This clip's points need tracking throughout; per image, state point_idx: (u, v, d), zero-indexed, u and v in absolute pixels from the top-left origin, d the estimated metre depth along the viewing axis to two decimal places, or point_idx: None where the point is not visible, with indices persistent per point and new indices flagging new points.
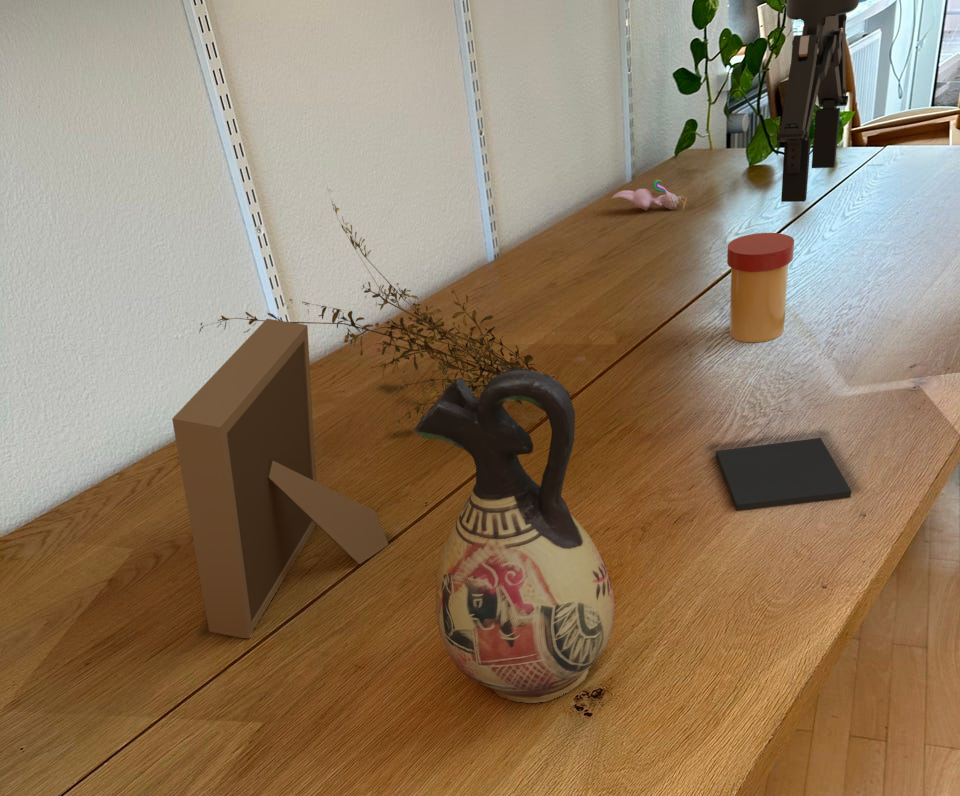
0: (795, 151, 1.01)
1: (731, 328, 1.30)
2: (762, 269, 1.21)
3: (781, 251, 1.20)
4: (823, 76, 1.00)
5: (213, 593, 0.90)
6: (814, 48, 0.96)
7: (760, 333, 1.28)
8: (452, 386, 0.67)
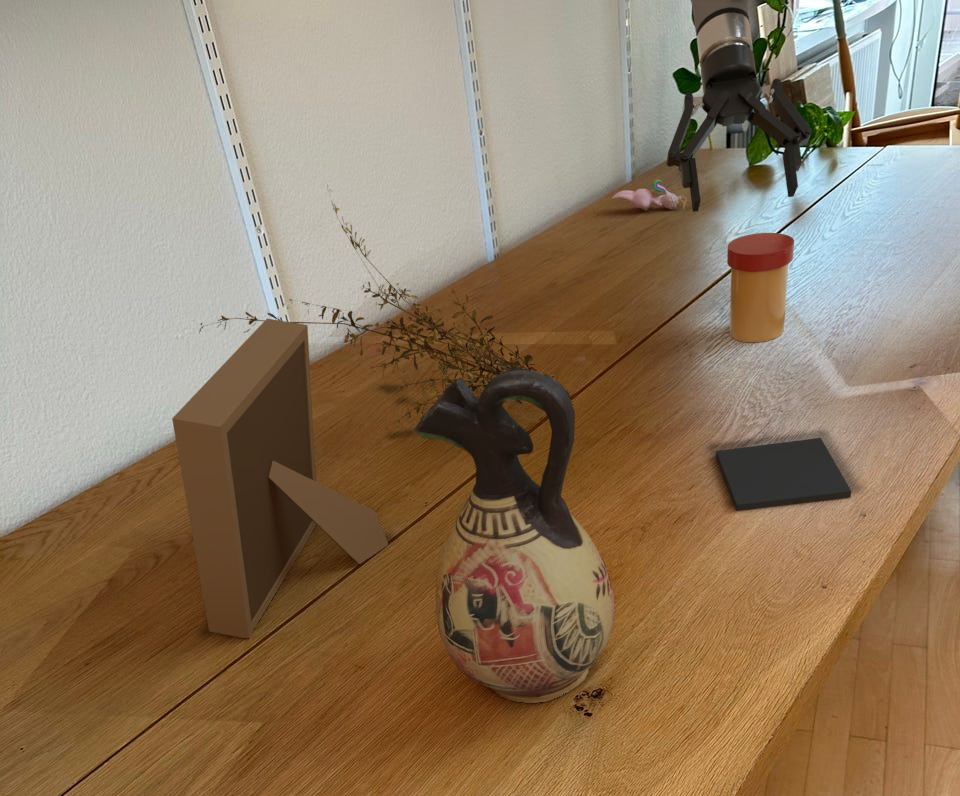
0: None
1: (731, 328, 1.30)
2: (762, 269, 1.21)
3: (781, 251, 1.20)
4: (711, 117, 1.29)
5: (213, 593, 0.90)
6: (684, 101, 1.30)
7: (760, 333, 1.28)
8: (452, 386, 0.67)
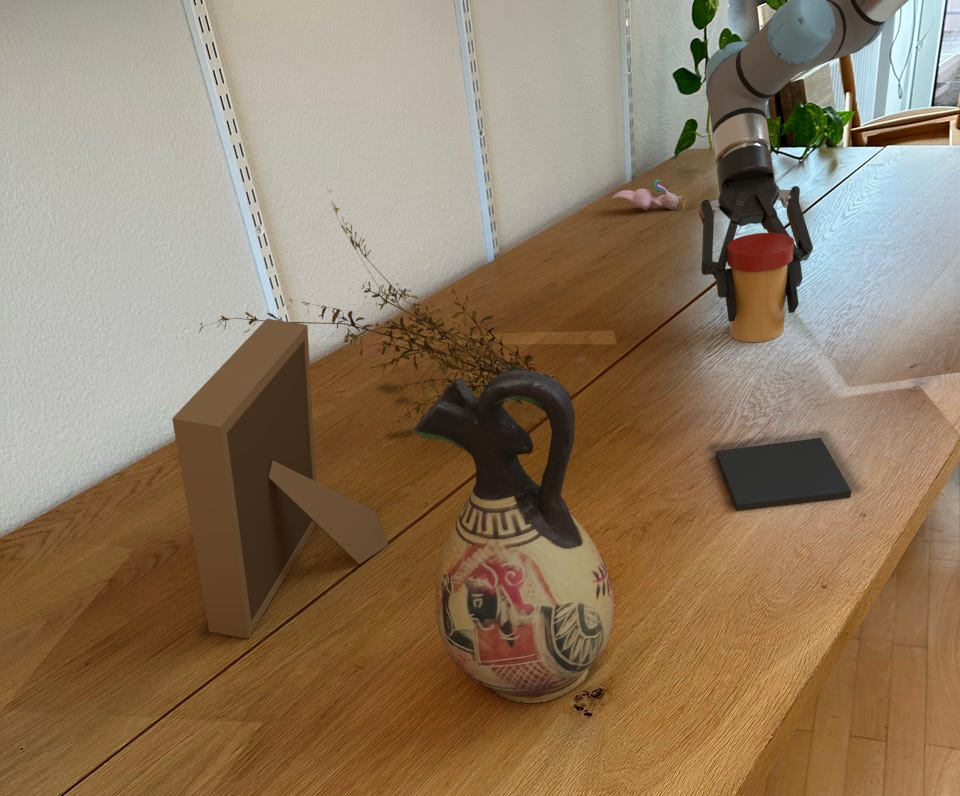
0: (717, 279, 1.27)
1: (731, 328, 1.30)
2: (762, 269, 1.21)
3: (781, 251, 1.20)
4: (735, 221, 1.26)
5: (213, 593, 0.90)
6: (703, 209, 1.27)
7: (760, 333, 1.28)
8: (452, 386, 0.67)
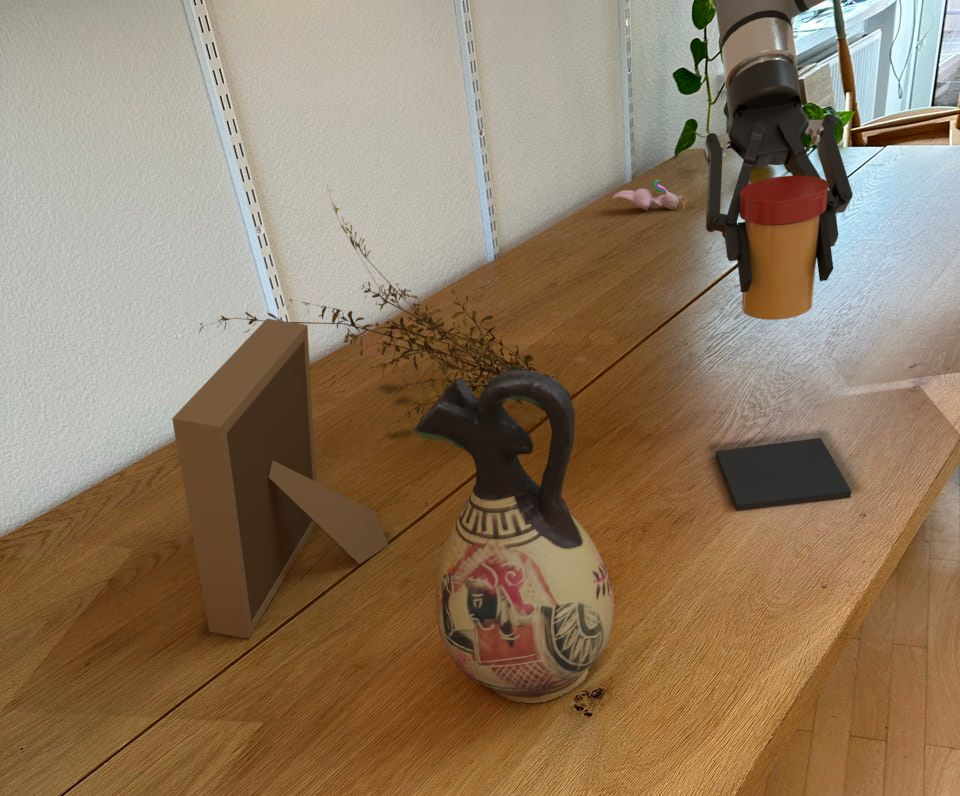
0: (726, 237, 0.97)
1: (744, 301, 1.01)
2: (786, 221, 0.92)
3: (812, 197, 0.91)
4: (751, 161, 0.96)
5: (213, 593, 0.90)
6: (708, 146, 0.97)
7: (782, 307, 0.98)
8: (452, 386, 0.67)
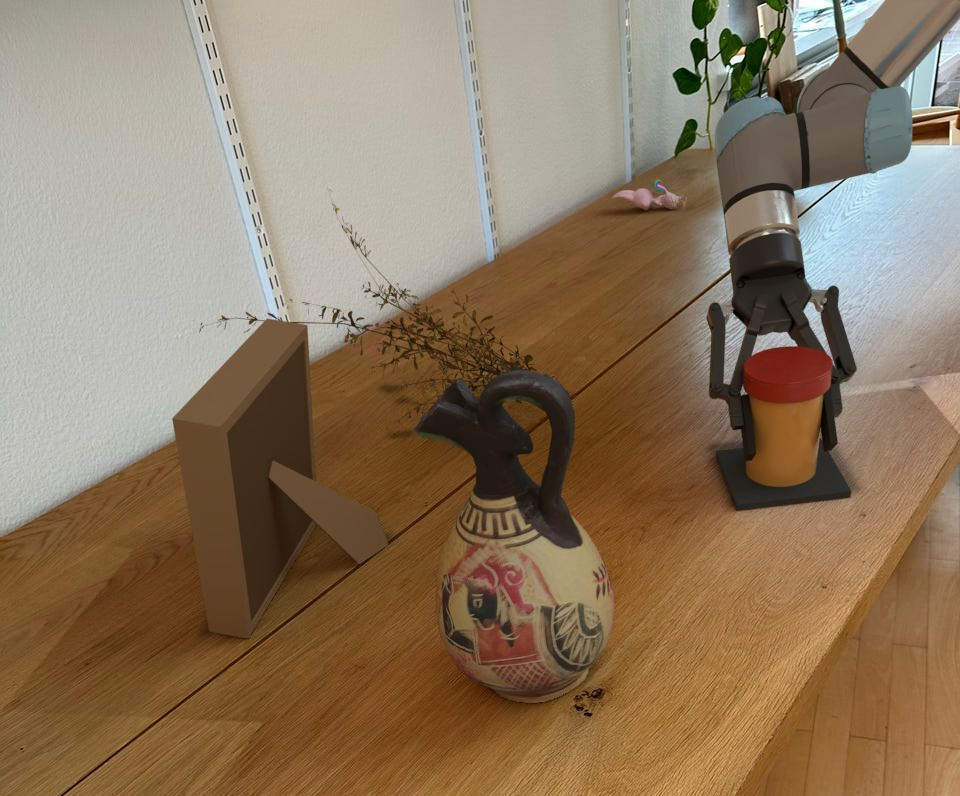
0: (730, 407, 0.97)
1: (748, 466, 1.00)
2: (790, 401, 0.91)
3: (816, 379, 0.90)
4: (754, 332, 0.96)
5: (213, 593, 0.90)
6: (711, 315, 0.97)
7: (786, 476, 0.97)
8: (452, 386, 0.67)
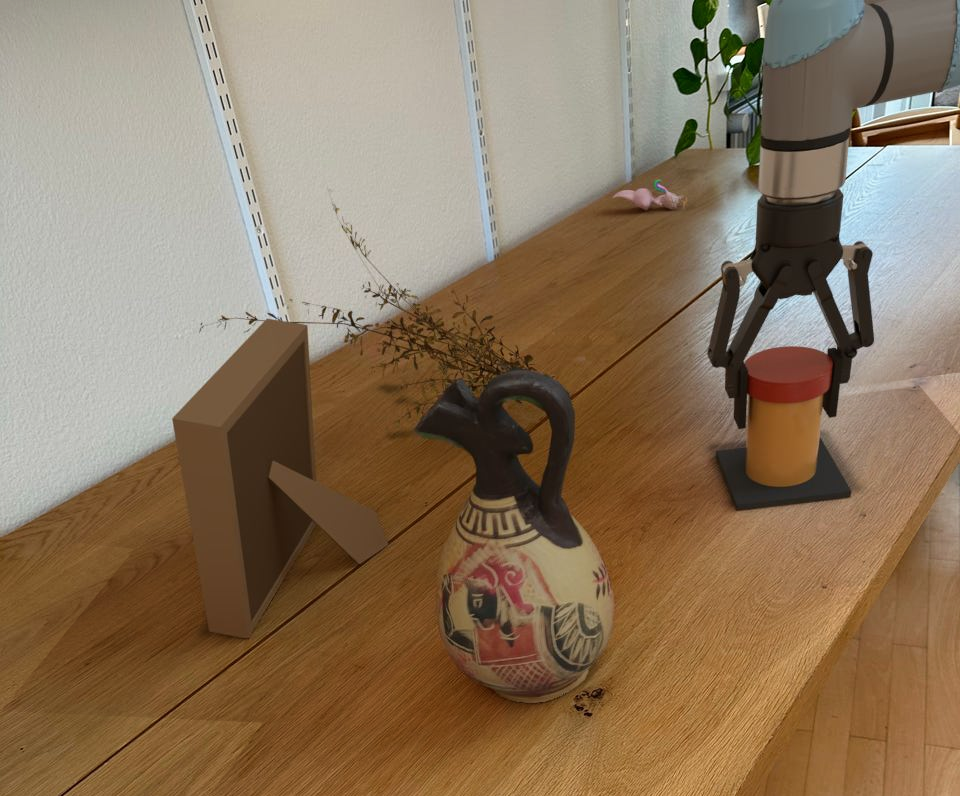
0: (727, 376, 0.94)
1: (748, 466, 1.00)
2: (790, 401, 0.91)
3: (816, 379, 0.90)
4: (768, 307, 0.88)
5: (213, 593, 0.90)
6: (726, 284, 0.87)
7: (786, 476, 0.97)
8: (452, 386, 0.67)
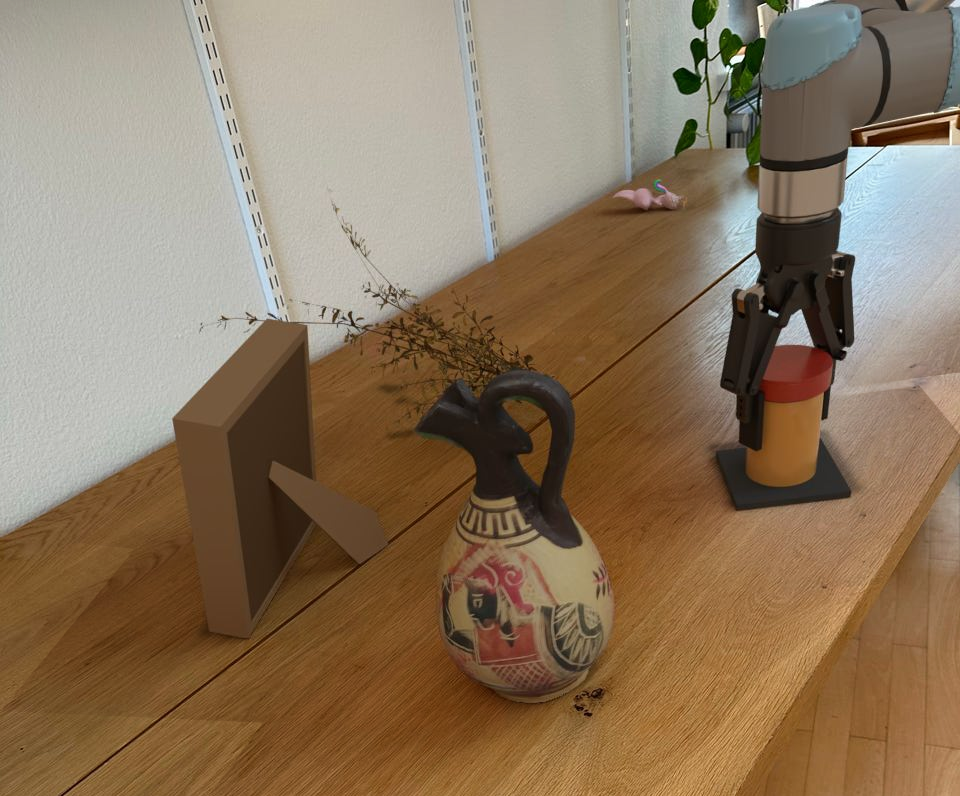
0: (742, 402, 0.92)
1: (748, 466, 1.00)
2: None
3: (803, 347, 0.96)
4: (782, 326, 0.88)
5: (213, 593, 0.90)
6: (749, 310, 0.85)
7: (786, 476, 0.97)
8: (452, 386, 0.67)
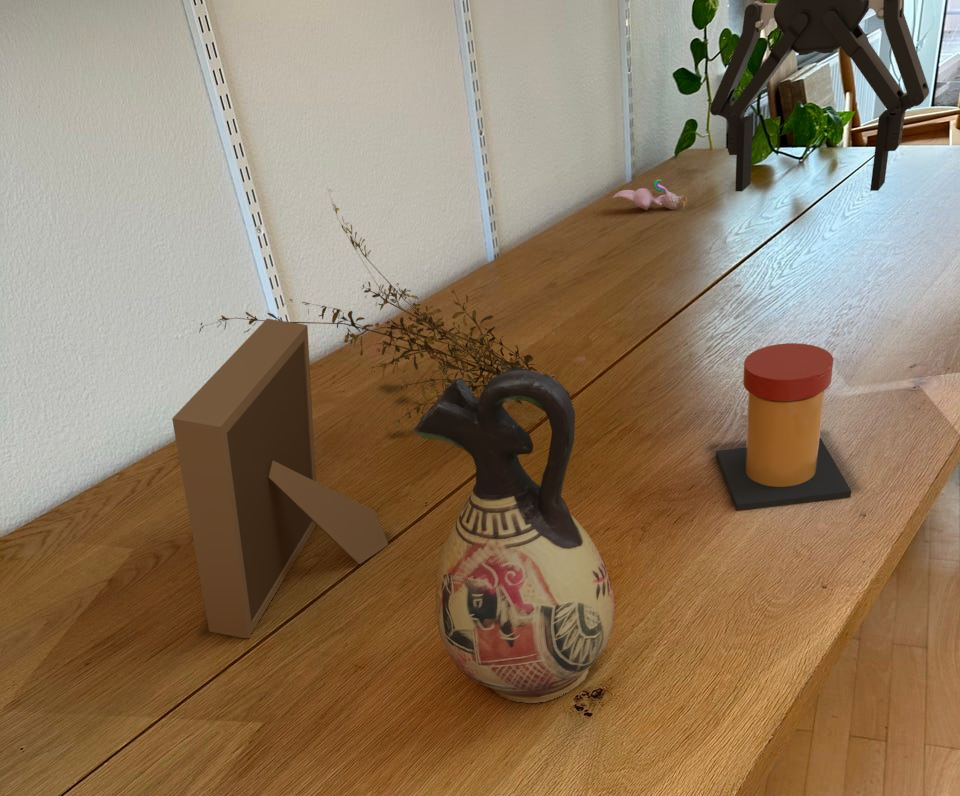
0: (902, 121, 0.86)
1: (748, 466, 1.00)
2: None
3: (744, 366, 0.94)
4: None
5: (213, 593, 0.90)
6: (903, 0, 0.81)
7: (786, 476, 0.97)
8: (452, 386, 0.67)
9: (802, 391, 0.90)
